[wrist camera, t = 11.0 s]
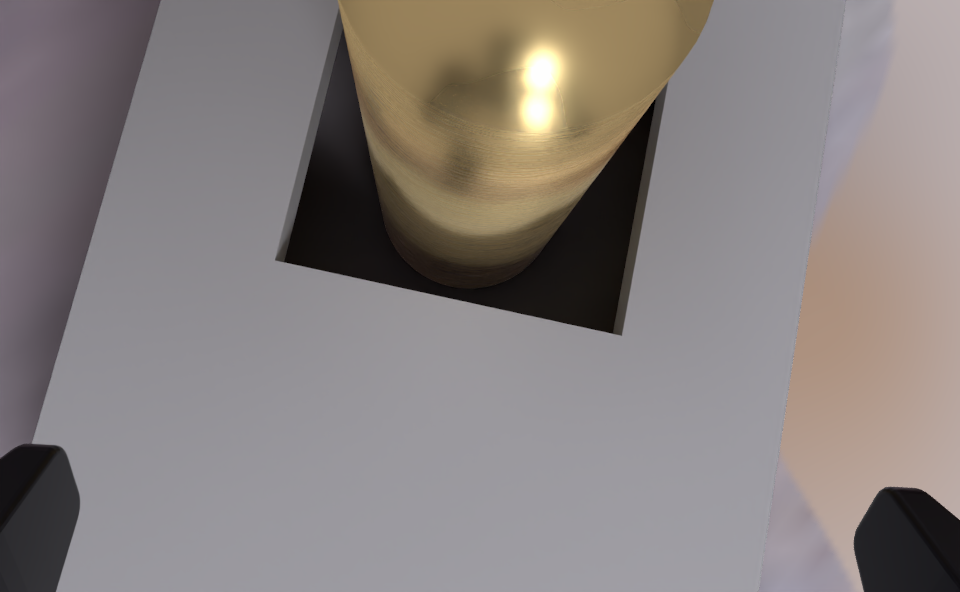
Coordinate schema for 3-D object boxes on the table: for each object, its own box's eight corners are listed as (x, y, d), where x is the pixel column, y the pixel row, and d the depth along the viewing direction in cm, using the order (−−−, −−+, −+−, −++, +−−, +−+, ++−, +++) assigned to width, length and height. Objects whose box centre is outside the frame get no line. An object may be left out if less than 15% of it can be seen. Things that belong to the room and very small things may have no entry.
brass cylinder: (499, 321, 23) (599, 204, 10) (348, 230, 23) (249, -6, 10) (586, 176, 23) (785, -109, 10) (440, 88, 23) (461, -302, 11)
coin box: (668, 690, 21) (732, 764, 17) (75, 572, 21) (-19, 616, 16) (778, 11, 24) (857, -78, 20) (264, -111, 24) (227, -230, 19)
